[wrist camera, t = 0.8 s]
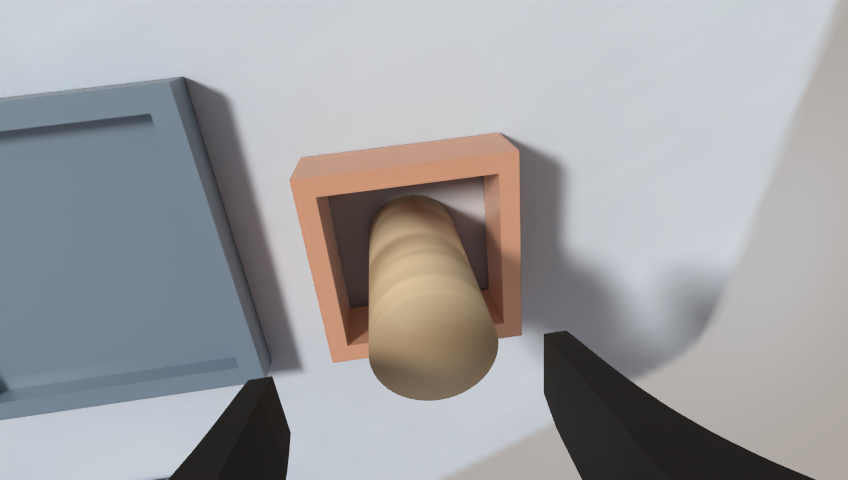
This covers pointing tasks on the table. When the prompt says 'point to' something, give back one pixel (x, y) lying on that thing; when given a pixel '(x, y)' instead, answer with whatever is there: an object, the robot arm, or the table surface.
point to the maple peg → (425, 304)
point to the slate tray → (116, 254)
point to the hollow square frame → (402, 169)
